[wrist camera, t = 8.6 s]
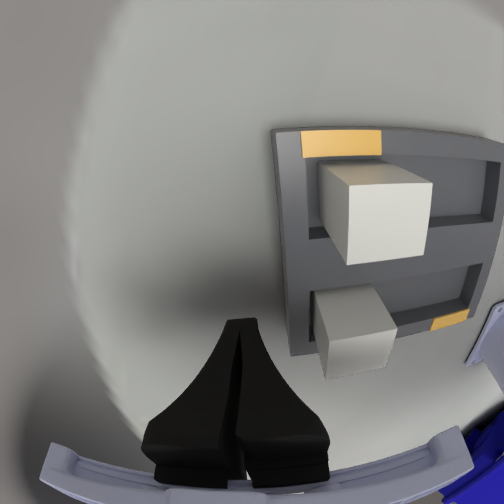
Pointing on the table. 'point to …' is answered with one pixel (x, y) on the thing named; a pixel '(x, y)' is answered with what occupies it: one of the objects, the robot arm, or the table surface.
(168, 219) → the table surface
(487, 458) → the blue valve with handwheel
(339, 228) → the white rectangular block
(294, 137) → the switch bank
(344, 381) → the table surface
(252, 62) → the table surface
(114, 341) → the table surface
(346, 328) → the white block
